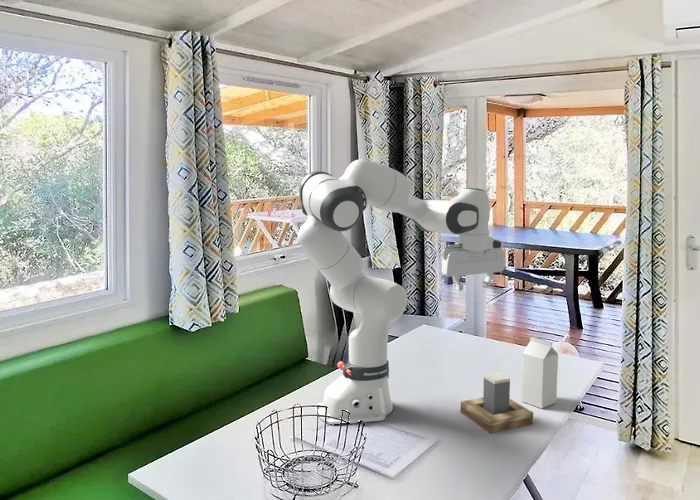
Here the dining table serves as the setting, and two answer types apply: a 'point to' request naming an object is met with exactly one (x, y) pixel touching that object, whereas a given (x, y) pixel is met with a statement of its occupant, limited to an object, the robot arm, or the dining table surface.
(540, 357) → the milk carton
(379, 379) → the robot arm
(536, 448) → the dining table surface
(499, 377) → the plain greyish beige box
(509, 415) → the square wooden tray
